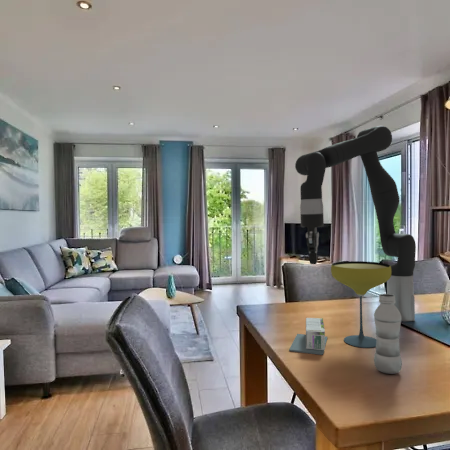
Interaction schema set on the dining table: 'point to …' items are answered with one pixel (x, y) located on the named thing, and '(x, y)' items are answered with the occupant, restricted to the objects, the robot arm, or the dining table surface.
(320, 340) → the syrup box
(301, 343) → the mat
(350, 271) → the cocktail glass
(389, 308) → the plastic bottle
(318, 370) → the dining table surface
